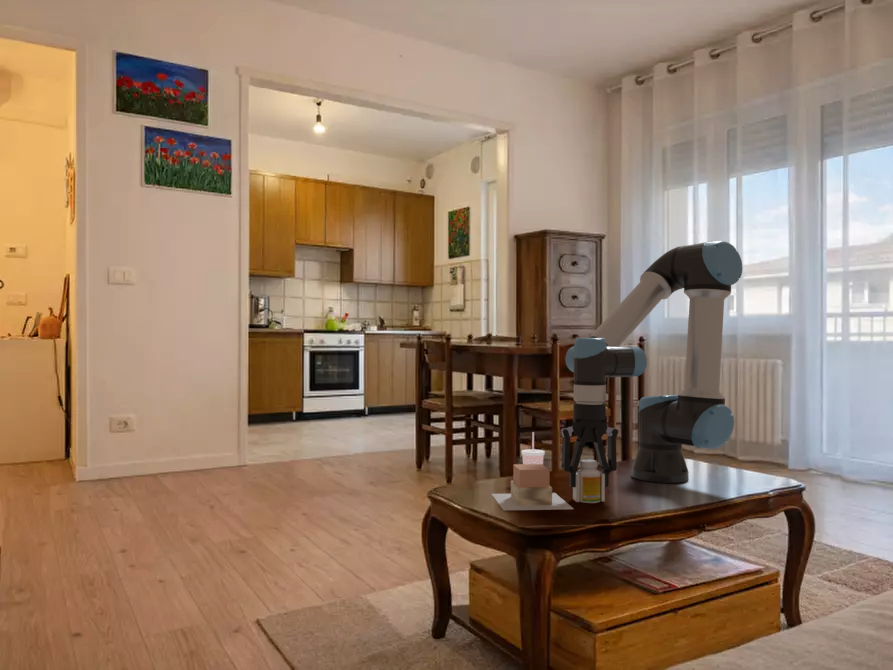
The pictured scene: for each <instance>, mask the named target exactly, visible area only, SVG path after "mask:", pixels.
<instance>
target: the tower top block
mask: <svg viewBox="0 0 893 670" xmlns="http://www.w3.org/2000/svg"><path fill="white" fill-rule="evenodd" d="M512 469H513V480H512V481H514V482H515V483H516V484H517V485H518V486H519V487H549V485H550V481H551V480H550V476H551V475H550V468H548V467H547V466H545V464H544V463H543V464H523V463H522V464H521V463H520V464H519V463H518V464H513V467H512Z"/></svg>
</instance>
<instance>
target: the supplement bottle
mask: <svg viewBox="0 0 893 670" xmlns="http://www.w3.org/2000/svg"><path fill="white" fill-rule="evenodd" d="M598 463H599V461H598V460H595V459H580V462H579V464H580V467H581V468H580V469H577V473H578V474H580V500H579V503H585V504H586V503H587V504H596V503H600V502H601V501H600V480H601V475H600V472H601V471H600V470H599V469H597V468H598V466H599V465H598Z"/></svg>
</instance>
